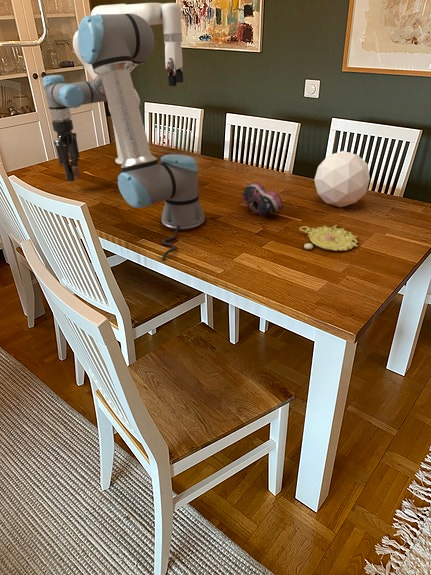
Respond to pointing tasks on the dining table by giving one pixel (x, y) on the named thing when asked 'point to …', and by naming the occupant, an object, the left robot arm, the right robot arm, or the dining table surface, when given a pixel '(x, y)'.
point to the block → (75, 173)
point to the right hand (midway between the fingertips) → (73, 178)
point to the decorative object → (330, 238)
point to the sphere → (342, 179)
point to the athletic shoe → (261, 200)
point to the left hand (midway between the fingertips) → (176, 84)
